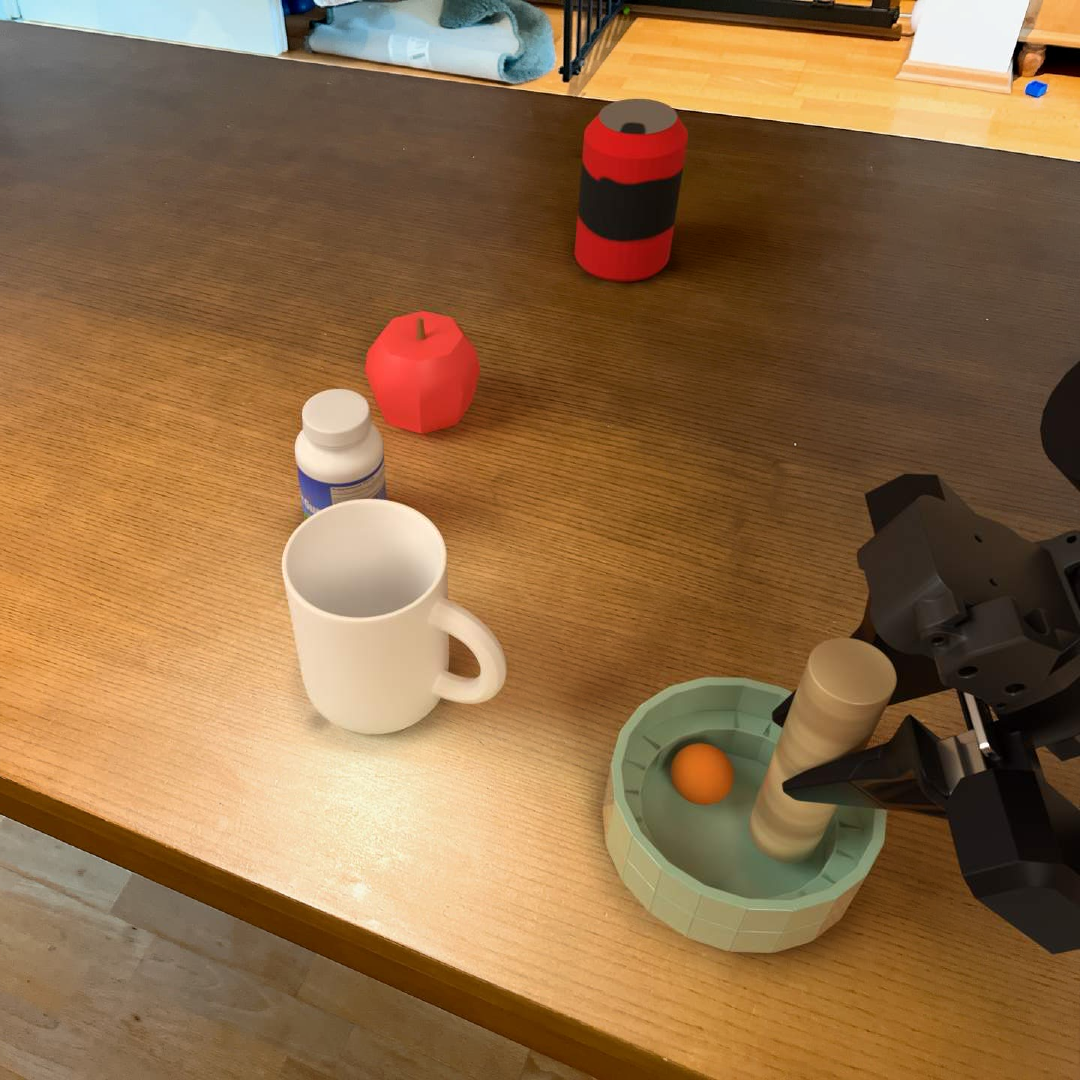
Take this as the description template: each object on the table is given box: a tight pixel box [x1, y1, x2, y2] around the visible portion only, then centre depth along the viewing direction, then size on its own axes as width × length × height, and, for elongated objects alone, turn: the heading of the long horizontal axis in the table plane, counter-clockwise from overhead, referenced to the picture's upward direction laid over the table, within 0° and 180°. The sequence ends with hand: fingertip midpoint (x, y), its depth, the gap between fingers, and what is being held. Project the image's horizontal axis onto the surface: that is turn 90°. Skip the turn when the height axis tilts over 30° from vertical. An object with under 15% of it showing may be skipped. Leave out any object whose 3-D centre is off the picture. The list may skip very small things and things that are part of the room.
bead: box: [671, 743, 734, 805], centre depth 53 cm, size 3×3×3 cm
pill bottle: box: [294, 388, 387, 521], centre depth 66 cm, size 5×5×10 cm
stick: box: [748, 637, 897, 863], centre depth 46 cm, size 3×3×13 cm
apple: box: [364, 310, 482, 435], centre depth 73 cm, size 8×8×8 cm
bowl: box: [602, 676, 888, 954], centre depth 51 cm, size 12×12×5 cm
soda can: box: [574, 98, 689, 283], centre depth 83 cm, size 8×8×12 cm
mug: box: [281, 499, 508, 735], centre depth 56 cm, size 12×8×10 cm
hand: (782, 755), depth 46 cm, fingers closed on stick, 3 cm apart
